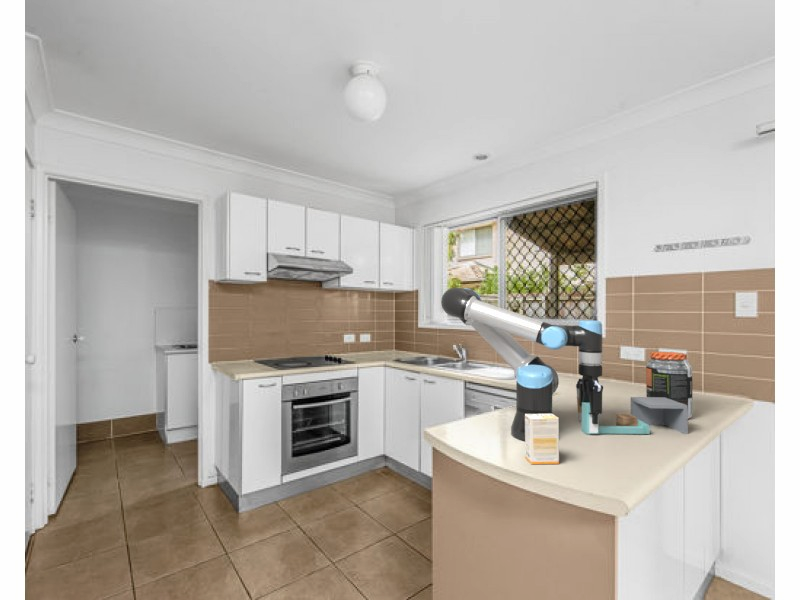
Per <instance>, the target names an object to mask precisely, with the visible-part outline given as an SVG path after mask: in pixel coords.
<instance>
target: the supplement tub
mask: <svg viewBox="0 0 800 600" xmlns="http://www.w3.org/2000/svg"><path fill="white" fill-rule="evenodd" d="M645 365H646V367H645V368H646V369H645V370H646V371H645V372H646V373H645V374H646V375H645V378H646V383H645V384H646V387H645V390H646V395H645V397H665V398H668V399H671V400H674V401H676V402H679V403H682V404H685V405H687V412H688V419H690V418H691V417H693V414H694V413H693V412H694V411H693V405H694V404H693V368H692V366H691V364H690V363H689V362H688V356H687V353H683V352H674V351H650V359H648V361H647V362H646V364H645Z"/></svg>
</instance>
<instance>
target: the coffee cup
mask: <svg viewBox="0 0 800 600" xmlns="http://www.w3.org/2000/svg"><path fill="white" fill-rule="evenodd" d="M575 387H576V402H577V405H576V406H577V414H578V415H577V416H578V419H579V421H580V422H582V406H580V405H579V381H578V380H577V382H576V385H575Z"/></svg>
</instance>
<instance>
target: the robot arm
mask: <svg viewBox="0 0 800 600" xmlns="http://www.w3.org/2000/svg"><path fill="white" fill-rule="evenodd" d="M440 301H441V302H440V303H441V307H442V309H443V311H444V312H445V314H447V315H448V316H451V317H455V318H458V319H460V321H461V322H462V323H463V324H464V325H465V326H469V327H470V326H471V327H472V328H473V330H475V331H476V332H477V333H478V334H479V335H480V336H481V337H482V338H483V339H484V340H485V341H486V343H488V345H490V347H492V349H493V350H495V352H496V353H497V354H498V355H499V356H500V357H501V358H502V359H503V360H504V361H505V363H507V364H508V365H509V366H510V367H511V368H512V369H513V372H514V376H513V377H515V379H516V381H515V382H516V384H515V385H516V386H515V387H516V394H515V395H516V396H515V397H516V402H515V403H516V405H515V406H516V408H515V411H516V412H515V414H514V416H513V417H514V418H513V420H512V423H511V426H510V435H511V436H512V437H514V438H515V439H517V440H521V441H524V442H525V414H553V394H554V393H555V392H556V391H557V389H558V388H559V385H560V381H559V376H558V373H557V371H556V370H555V369H554V368H553V367H552V366H551V365H549V364H547V363H546V362H544V361H543V360H542V359H541V358H540V357H539V356H538V355H534V354H530V353H529V352H528V350H526V349H525V347H523V346H522V345H521V343H519V342H518V341H517V340H516V339H515V338H514V337H513V336H512V335H514V336H517V337H520V338H523V339H526V340H528V341H529V340H530V341H532V342H535V343H538V344H540V345H543V346H544V347H546V348H547V349H549V350H552V351H553V350H554V351H556V350H557V351H558V350H560V349H562V348H564V347H577V348H578V353H577V354H578V355H577V356H578V363H579V364H578V374H579V375H581V376H582V378H578V380H577V381H579V405H580V406H582V402H583V403H590V411H591V413H589V433H598V415H599V416H600V415H602V414H603V390H604V385H600V384H599V382H600V381H599V378H600V377H602V376H603V366H602V365H601V364H603V358H604V355H603V325H602V322H601V321H599V320H591V319H590V320H584V319H583V320H578V324H577V325H567V324H566V325H565V324H564V325H563V324H551V323H548V322H545V321H542V320H539V319H536V318H533V317H530V316H527V315H524V314H521V313H518V312H515V311H512V310H509V309H505V308H503V307H500V306H497V305H493V304H491V303H488V302H485V301H483V300H482V297H481V296H480V295H479V293H477V292H476V291H475V290H473V289H470V288H468V287H465V288H461V287H457V286H456V287H451V288H448V289H447V290H446V291H444V293H443V294H442V295H441V299H440Z"/></svg>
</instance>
